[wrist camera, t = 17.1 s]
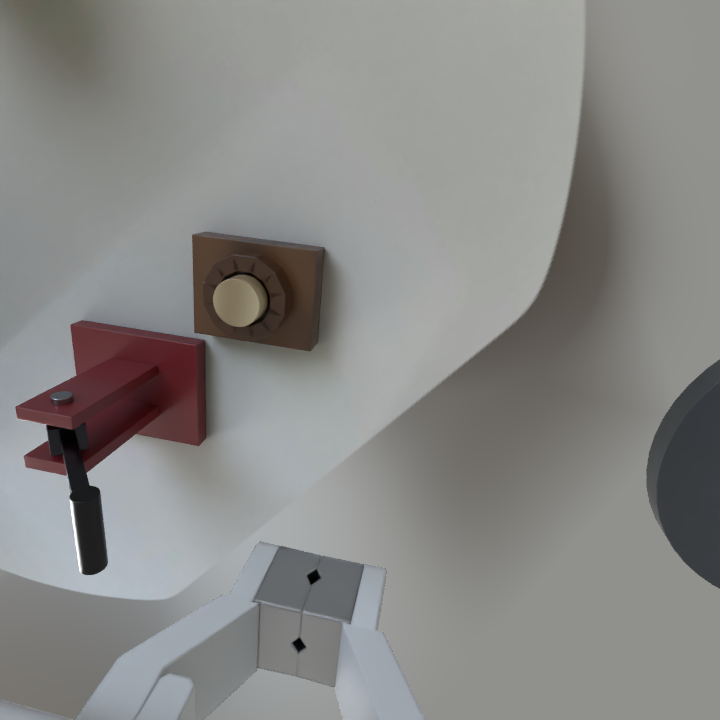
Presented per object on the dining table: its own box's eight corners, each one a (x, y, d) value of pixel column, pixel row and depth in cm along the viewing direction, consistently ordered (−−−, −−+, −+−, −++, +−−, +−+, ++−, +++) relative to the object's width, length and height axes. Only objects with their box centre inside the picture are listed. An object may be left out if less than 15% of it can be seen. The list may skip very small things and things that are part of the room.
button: (268, 277, 36) (260, 282, 34) (267, 324, 37) (258, 330, 35) (223, 271, 36) (212, 275, 34) (223, 317, 37) (212, 323, 36)
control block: (324, 247, 38) (311, 254, 34) (317, 343, 41) (304, 359, 37) (205, 231, 39) (179, 236, 35) (206, 325, 42) (183, 339, 38)
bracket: (205, 339, 42) (119, 393, 31) (206, 438, 46) (130, 517, 35) (82, 319, 44) (-40, 364, 33) (92, 416, 48) (-15, 485, 37)
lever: (112, 494, 26) (60, 508, 25) (119, 566, 28) (71, 582, 26) (78, 390, 37) (41, 396, 35) (85, 447, 38) (50, 454, 37)
